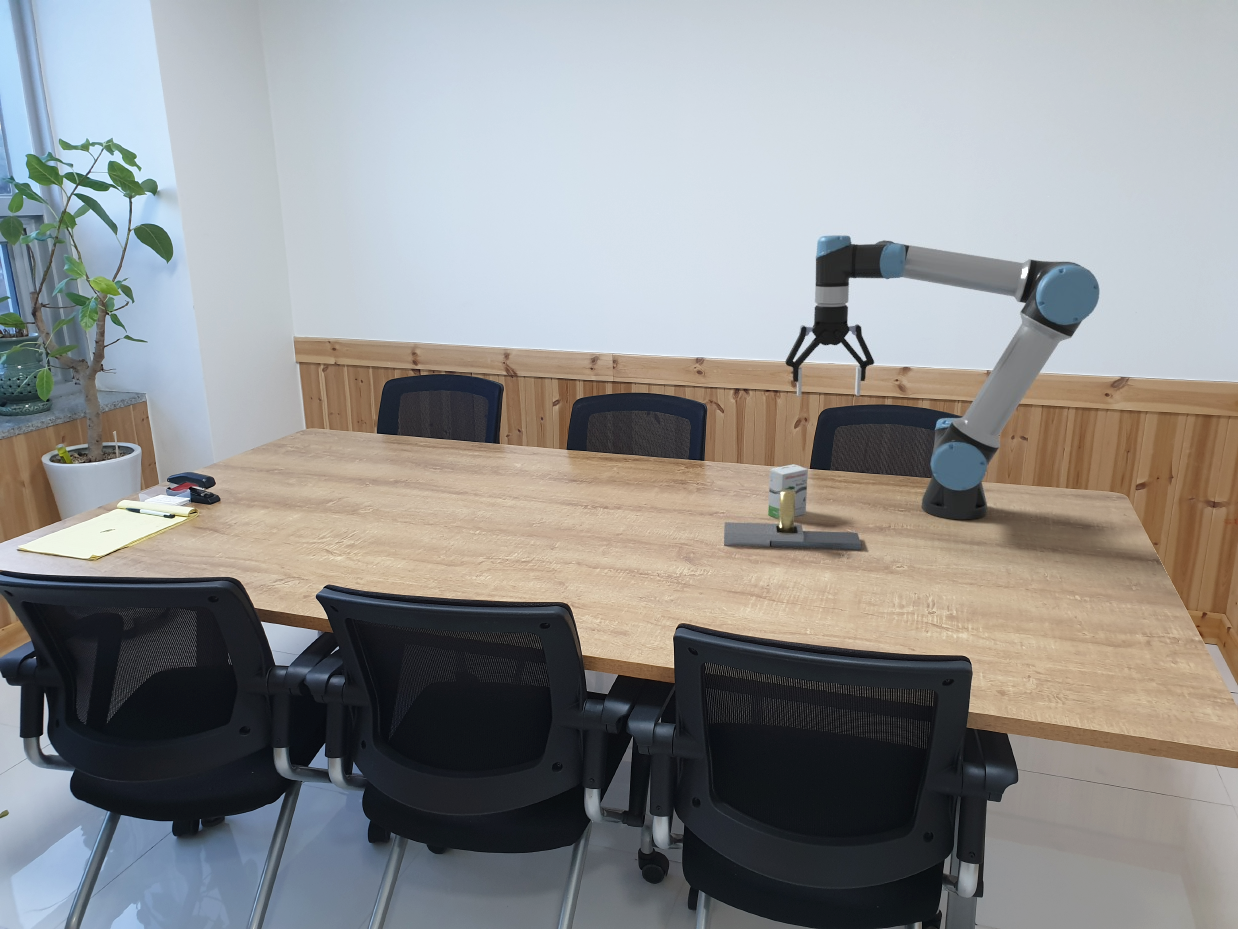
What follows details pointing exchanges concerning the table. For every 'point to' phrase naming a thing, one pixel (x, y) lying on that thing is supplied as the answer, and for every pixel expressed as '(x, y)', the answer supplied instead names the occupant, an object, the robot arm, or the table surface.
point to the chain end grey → (758, 534)
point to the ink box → (792, 480)
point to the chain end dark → (824, 541)
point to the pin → (787, 511)
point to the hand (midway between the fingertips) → (828, 395)
